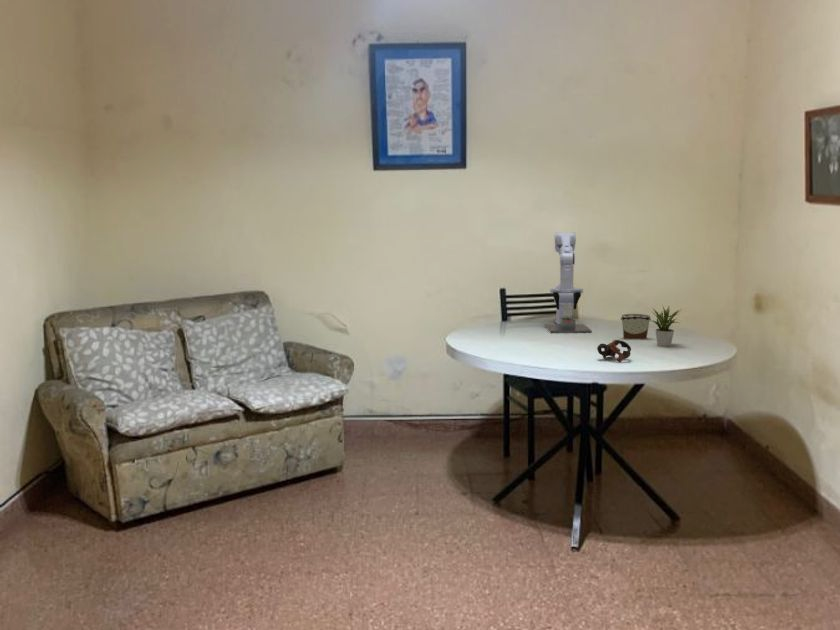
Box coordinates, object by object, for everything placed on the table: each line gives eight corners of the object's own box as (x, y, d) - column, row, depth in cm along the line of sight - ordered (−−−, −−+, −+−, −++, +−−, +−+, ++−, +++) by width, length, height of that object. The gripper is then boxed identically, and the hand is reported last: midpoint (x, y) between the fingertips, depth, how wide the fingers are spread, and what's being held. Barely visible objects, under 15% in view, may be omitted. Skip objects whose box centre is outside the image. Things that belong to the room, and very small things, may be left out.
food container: (647, 336, 318) (648, 313, 316) (650, 339, 312) (651, 315, 310) (617, 336, 319) (618, 313, 317) (620, 339, 313) (620, 315, 311)
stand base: (544, 326, 346) (544, 314, 345) (583, 326, 346) (583, 314, 345) (550, 333, 328) (550, 320, 328) (591, 332, 328) (591, 320, 327)
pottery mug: (620, 357, 279) (630, 340, 275) (626, 373, 272) (636, 356, 267) (591, 350, 277) (600, 333, 273) (595, 366, 270) (605, 348, 265)
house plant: (689, 349, 290) (691, 307, 287) (653, 349, 291) (654, 307, 288) (679, 342, 304) (680, 302, 301) (644, 342, 305) (646, 303, 302)
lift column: (563, 321, 338) (563, 303, 337) (570, 321, 338) (570, 303, 337) (564, 322, 335) (564, 304, 334) (571, 322, 335) (572, 304, 334)
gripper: (552, 280, 333) (551, 310, 335) (584, 280, 333) (584, 310, 335) (549, 278, 340) (549, 308, 342) (581, 278, 340) (580, 307, 342)
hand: (566, 309), depth 339 cm, fingers open, 7 cm apart
